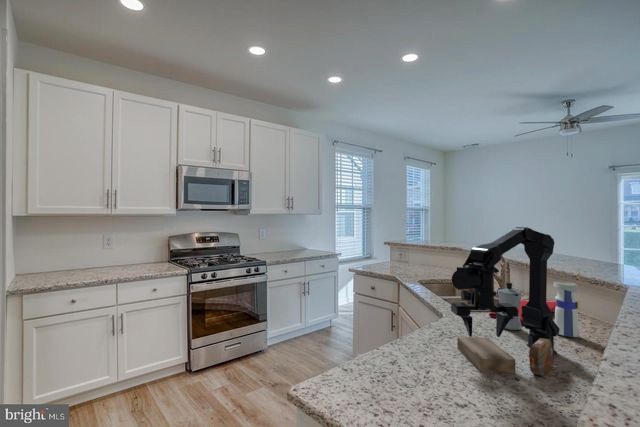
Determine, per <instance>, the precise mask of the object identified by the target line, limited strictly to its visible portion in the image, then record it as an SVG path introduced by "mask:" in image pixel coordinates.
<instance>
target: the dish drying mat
mask: <svg viewBox="0 0 640 427" xmlns="http://www.w3.org/2000/svg"><path fill="white" fill-rule="evenodd" d="M528 301H529V298H526V299H523V300H520V307H519V309H518V311H519V315H520V321H521V326H524V322H523V320H522V317H521V315H522V306H523V305H524V306H525V305H526V304H527V303H528ZM546 303H547V305H548V307H549V308H550V310H551V312H552V313H553V312H555V308H556V306H557V301H556V300H555V301H554V300H549V299H546ZM488 316H489V317H490V316H491V317H490V318H492V317H495V318H494V319H496V315H495V312H488Z"/></svg>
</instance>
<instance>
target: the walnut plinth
mask: <svg viewBox="0 0 640 427" xmlns="http://www.w3.org/2000/svg"><path fill="white" fill-rule="evenodd" d="M456 340H457V343H456V344H457V346H456V347H457V350H458V351H459V352H460V354H462V355H463V356H464V357H465V359H466V360H468V362H469V363H470V364H471V365H472V366H473V367H474V368H475V369H476V370H477V371H478V372H479V373H482V374H516V359H515V358H514V357H513V356H511V355H510V354H509V353H508V352H506V351H505V350H504V349H503V348H501V347H500V346H499V345H498V344H496V343H495V342H494V341H492V340H491V339H490V338H488V337H480V336H478V337H477V336H476V337H475V336H474V337H473V336H472V337H470V336H468V337H467V336H466V337H464V336H463V337H461V336H459V337H458V336H457V339H456Z"/></svg>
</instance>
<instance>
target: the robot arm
mask: <svg viewBox="0 0 640 427" xmlns="http://www.w3.org/2000/svg"><path fill="white" fill-rule="evenodd" d="M520 244H521V245H523V249H524V252H525V254H526V256H527V257H528V259H529V275H528V276H529V279H528V282H529V284H528V299H529V301H528V303H527V304H526V305H525V306H524V305H523V306H522V315H521V317H522V320H523V322H524V325H523V326H524V328H525V329H527V330H528V331H529V334H528V336H527V344H526V346H527V347H528V348H529V349H530V347H531V346H532V345H533V344H534V343H535V342H536V341H537V340H538V339H540V338H544V339H550V340H551V341H552V343H553V348H554V354H558V352H557V350H555V346H554V345H555V343H554V342H555V340H554V339H555V337H557V336H558V335H560V334H559V330H560V329H559V327H558V326H557V325H556V324H555V320H553V312H551V310H550V308H549V307H548V305H547V303H546V300H547V289H548V288H547V285H548V282H547V280H548V275H547V274H548V261H549V259H550V258H551V256H552V255H553V253H554V247H555V239H554V238H553V237H552V235H550V234H547V233H543V232H539V231H536V230H534V229H533V228H531V227H528V226H516V227H514V228H513V229H512V230H511V231H509V232H507V233H506V234H504V235H502V236H500V237H499V238H497V239H495V240H494V241H491V242H489V243H483V244H480V245H476V246H474V247H472V248H471V249H470V252H469V255H468V256H467V258H466V260H465V262H464V264H463V266H456V270H455V271H454V272H453V273H452V276H451V283H452V285H453V287H454V288H455V289H456V290H459V291H460V299H461V301H463V302H452V304H451V305H450V311H451V312H452V313H453V314H454V315H456V316H458V317H460V318H461V319H462V321H463V323H464V326H465V328H466V329H465V330H466V332H467V334H468V337H473V316H471V314H472V313H492V312H495V315H496V318H497V319H496V318H495V319H496V322H495V323H496V324H495V334H496V337H497V338H500V337H501V335H502V334H503V331H504V330H505V329H504V328H505V326H506V325H507V324H508V322H509V321H510V320H511V319H513V317H518V316H519V311H518V308H517V307H516V306H514V305H511V304H509V303H499V302H497V303H496V305H495V297H496V296H497V291H495V285H494V284H495V274H496V273H497V274H498V273H500V270H499V269H498V268H497V267H496V265H497V264H498V263H499V262H500V261H501V260H502V256H503V255H504V254H505V253H507V252H509V251H510V250H512V249H513V248H516V247H517V246H518V245H520ZM494 273H495V274H494ZM470 289H471V292H469V291H468V290H470ZM461 290H462V291H461ZM464 301H465V302H466V303H467V304H466V303H464Z"/></svg>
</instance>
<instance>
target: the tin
mask: <svg viewBox="0 0 640 427" xmlns="http://www.w3.org/2000/svg"><path fill="white" fill-rule="evenodd" d="M554 350H555V347H554V348H553V343H552V341H551V340H550V339H544V338H540V339H538V340H537V341H536V342H535V343H534V344H533V345H532V346H531V347H530V348H529V351H528V358H529V369H530V372H531V374H534V375H537V376H541V377H545V376H546V375H547V373H548V372H549V371H551V369H552V368H553V366H554V362H555V361H554V360H555V353H554Z"/></svg>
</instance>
